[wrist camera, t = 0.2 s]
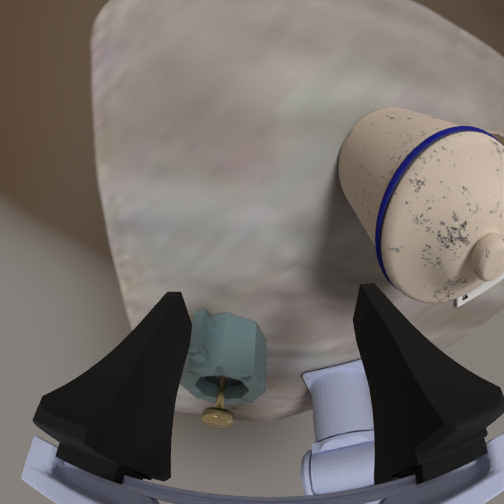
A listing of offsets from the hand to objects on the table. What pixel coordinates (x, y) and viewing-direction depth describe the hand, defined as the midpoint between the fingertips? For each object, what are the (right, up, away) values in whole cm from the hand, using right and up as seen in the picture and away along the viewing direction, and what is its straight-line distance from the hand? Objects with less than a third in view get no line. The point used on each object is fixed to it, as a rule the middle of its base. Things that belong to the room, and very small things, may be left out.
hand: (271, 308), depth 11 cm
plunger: (-3, -9, +13) cm, 16 cm away
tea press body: (-4, -6, +16) cm, 18 cm away
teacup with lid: (+10, +9, +6) cm, 15 cm away
